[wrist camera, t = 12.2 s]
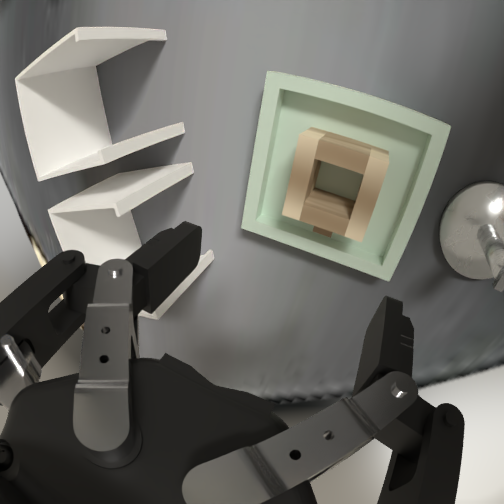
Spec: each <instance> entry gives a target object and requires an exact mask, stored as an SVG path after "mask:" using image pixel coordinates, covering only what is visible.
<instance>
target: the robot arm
mask: <svg viewBox="0 0 504 504" xmlns="http://www.w3.org/2000/svg"><path fill="white" fill-rule="evenodd" d="M201 238H202V228H201V227H200V226H197V225H194V224H192V223H189V222H186V221H184V222H182V223H181V224H180V225H179V226H177V227H176V228H175V229H172V228H170V229H167V230H164V231H161V232H159V233H158V234H157V235H156V236H154V237H153V238H152V239H150V240H149V241H148V242H146V244H144V245H143V246H141V247H140V248H139V249H137V250H136V251H135V252H134V253H132V254H131V255H130V256H129V257H127V258H126V259H125V260H124V259H111V260H108V261H106V262H104V263H103V264H101V266H100V265H94V264H89V263H85V258H84V255H83V253H82V252H80V251H78V250H67V251H64V252H61V253H60V254H58V255H57V256H56V257H54V258H53V259H52V260H50V261H49V262H48V263H47V264H45V265H44V266H43V267H42V268H40V269H39V270H38V271H37V272H36V273H34V274H33V275H32V276H31V277H30V278H28V279H27V280H26V281H25V282H24V283H22V284H21V285H20V286H19V287H18V288H17V289H15V290H14V291H13V292H12V293H11V294H10V295H8V296H7V297H6V298H5V299H4V300H3V301H2V302H1V303H0V405H2V406H4V407H5V408H6V409H8V411H9V413H8V417H7V420H6V424H5V426H4V429H3V431H2V433H1V435H0V504H317V501H316V498H315V495H314V493H313V490H312V487H311V484H310V483H311V482H312V481H314V480H315V479H317V478H319V477H320V476H322V475H323V474H325V473H327V472H328V471H329V470H331V469H332V468H334V467H335V466H337V465H338V464H340V463H341V462H342V461H344V460H345V459H347V458H348V457H350V456H351V455H353V454H354V453H355V452H357V451H358V450H360V449H361V448H362V447H364V446H365V445H366V444H368V443H369V442H370V441H371V440H373V439H374V438H375V439H377V440H378V441H380V442H381V443H383V444H384V445H386V446H387V447H389V448H390V449H392V450H393V451H392V455H391V459H390V463H389V466H388V470H387V474H386V477H385V480H384V484H383V487H382V490H381V493H380V496H379V500H378V503H377V504H455V499H456V493H457V488H458V481H459V475H460V467H461V459H462V450H463V438H464V425H465V424H464V418H463V415H462V414H461V412H460V410H459V409H458V408H457V407H455V406H454V405H452V404H449V403H444V404H440V405H439V406H438V407H437V408H435V407H434V406H432V405H430V404H429V403H428V402H426V401H425V400H423V399H422V398H421V397H420V396H419V395H418V387H417V385H416V383H415V381H414V380H413V379H412V366H413V343H414V340H413V339H414V328H413V325H412V323H411V320H410V318H408V317H405V316H403V315H402V310H403V303H402V301H399V300H396V299H394V298H391V297H388V296H385V297H384V298H383V300H382V302H381V304H380V305H379V307H378V309H377V311H376V313H375V315H374V316H373V318H372V320H371V322H370V324H369V326H368V328H367V331H366V334H365V339H364V344H363V349H362V354H361V359H360V363H359V368H358V372H357V377H356V381H355V385H354V390H353V394H352V398H350V399H348V398H347V397H346V398H343V399H341V400H339V401H338V402H336V403H334V404H333V405H331V406H329V407H328V408H326V409H324V410H322V411H321V412H319V413H317V414H315V415H313V416H312V417H310V418H308V419H306V420H304V421H302V422H301V423H299V424H297V425H295V426H293V427H291V428H289V427H288V426H287V425H286V423H285V422H284V421H283V420H282V419H281V418H280V417H278V416H277V415H276V414H275V413H273V412H272V410H273V408H274V406H275V404H274V403H272V402H269V401H267V400H264V399H262V398H259V397H257V396H255V395H252V394H250V393H248V392H244V391H238V390H234V389H229V388H224V387H219V386H216V385H213V384H212V383H211V382H209V381H208V380H207V379H206V378H204V377H203V376H202V375H201V374H200V373H198V372H197V371H196V370H195V369H194V368H192V367H191V366H190V365H188V364H186V363H184V362H182V361H180V360H178V359H176V358H174V357H172V356H170V355H168V354H166V353H165V354H164V356H163V357H162V358H161V359H160V360H158V359H153V358H140V354H139V317H138V314H139V313H140V312H141V311H142V310H144V311H146V312H148V313H150V314H152V313H153V312H154V311H155V310H156V309H157V308H158V307H159V306H160V305H161V304H162V303H163V302H164V301H165V300H166V299H167V298H168V297H169V296H170V294H171V293H172V292H173V291H174V290H175V289H176V288H177V287H178V286H179V285H180V284H181V283H182V282H183V281H184V280H185V279H186V278H187V277H188V276H189V275H190V274H191V273H192V272H193V271H194V269H195V268H196V267H197V265H198V262H199V259H200V252H201ZM61 294H63V298H64V299H63V300H62V301H61V302H60V303H59V304H58V305H57V306H55V307H54V308H53V309H52V310H51V311H50V312H49V313H48V310H49V307H50V305H51V304H52V303H53V302H54V301H55V300H56V299H57V298H58V297H59V296H60V295H61ZM84 322H85V325H84V333H83V342H82V350H81V360H80V370H79V373H76V374H72V375H68V376H64V377H60V378H55V379H51V380H47V381H42V382H39V379H40V376H41V369H42V367H43V366H44V365H45V364H46V363H47V362H48V361H49V360H50V358H51V357H52V356H53V355H54V354H55V353H56V352H57V351H58V350H59V349H60V347H61V346H62V345H63V344H64V343H65V342H66V341H67V340H68V339H69V338H70V337H71V335H73V333H74V332H75V331H76V330H77V329H78V328H79V327H80V326H81V325H82V324H83V323H84Z"/></svg>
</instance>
